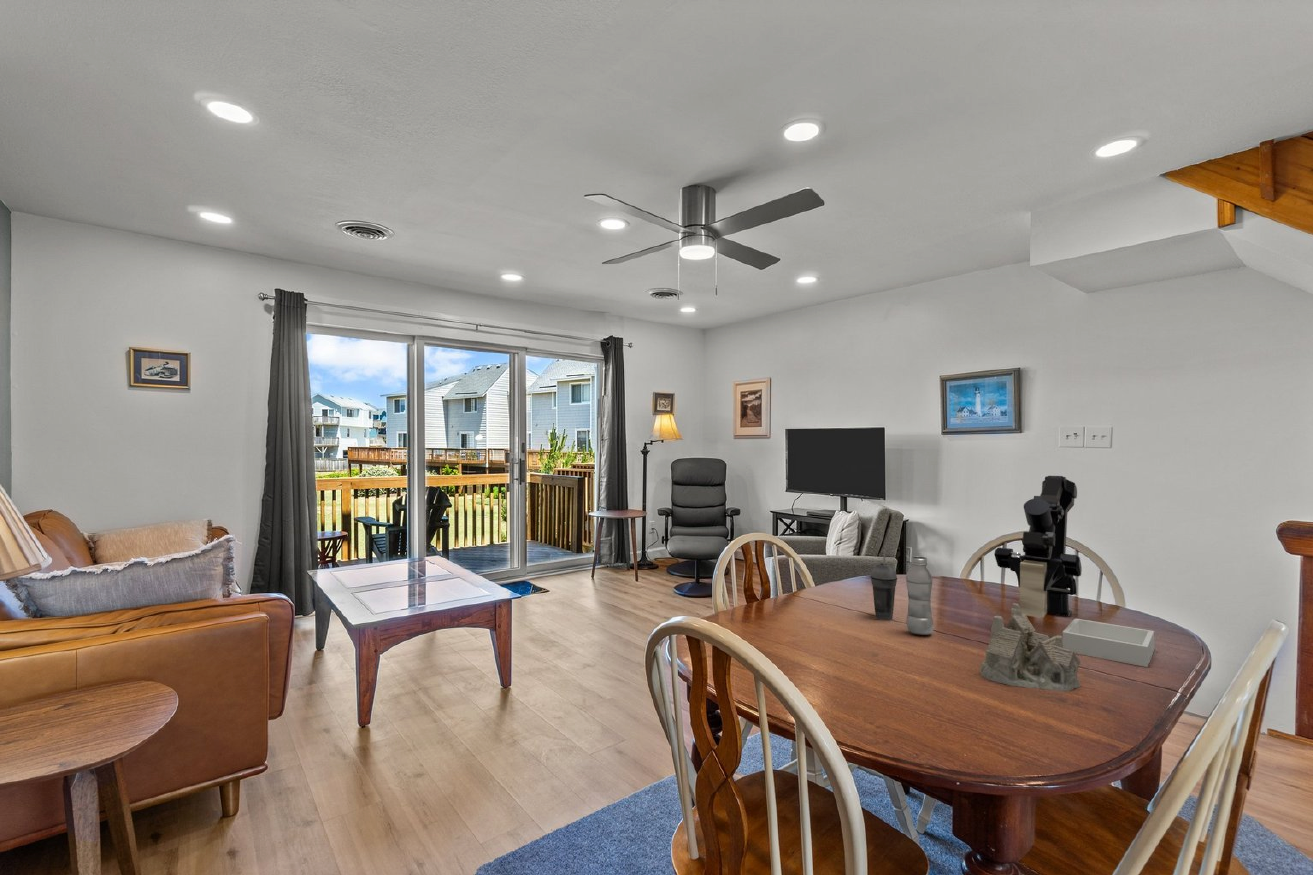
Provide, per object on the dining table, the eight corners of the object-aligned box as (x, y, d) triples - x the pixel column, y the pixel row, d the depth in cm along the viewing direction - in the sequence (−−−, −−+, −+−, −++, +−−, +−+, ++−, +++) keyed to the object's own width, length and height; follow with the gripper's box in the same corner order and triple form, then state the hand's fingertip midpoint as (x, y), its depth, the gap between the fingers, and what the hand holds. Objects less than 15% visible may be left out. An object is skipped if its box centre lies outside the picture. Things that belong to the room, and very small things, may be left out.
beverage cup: (893, 614, 179) (893, 546, 179) (901, 622, 171) (900, 550, 172) (867, 614, 179) (867, 546, 180) (874, 621, 172) (873, 550, 172)
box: (1075, 635, 159) (1075, 618, 159) (1154, 649, 148) (1154, 631, 148) (1062, 650, 147) (1062, 632, 147) (1147, 667, 136) (1147, 646, 136)
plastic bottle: (938, 637, 157) (937, 559, 158) (911, 637, 158) (911, 559, 158) (927, 630, 164) (927, 555, 164) (902, 630, 164) (901, 555, 164)
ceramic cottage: (967, 670, 134) (973, 602, 134) (1020, 663, 140) (1026, 598, 140) (1034, 702, 120) (1040, 627, 119) (1090, 693, 126) (1096, 621, 125)
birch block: (1024, 609, 159) (1024, 559, 159) (1046, 613, 155) (1047, 562, 155) (1019, 614, 155) (1020, 562, 155) (1042, 618, 152) (1043, 565, 152)
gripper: (995, 517, 164) (985, 564, 156) (1079, 523, 152) (1073, 574, 144) (1002, 542, 170) (993, 589, 162) (1084, 550, 158) (1078, 601, 150)
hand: (1032, 588), depth 154 cm, fingers closed on birch block, 5 cm apart
